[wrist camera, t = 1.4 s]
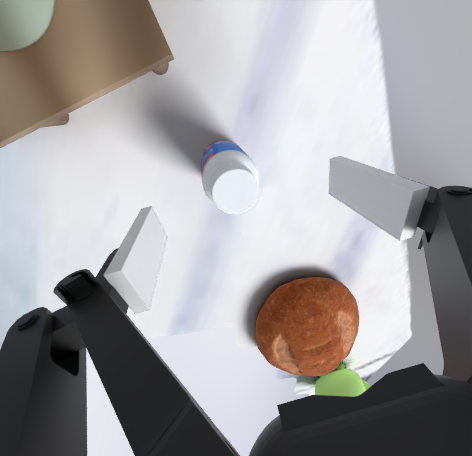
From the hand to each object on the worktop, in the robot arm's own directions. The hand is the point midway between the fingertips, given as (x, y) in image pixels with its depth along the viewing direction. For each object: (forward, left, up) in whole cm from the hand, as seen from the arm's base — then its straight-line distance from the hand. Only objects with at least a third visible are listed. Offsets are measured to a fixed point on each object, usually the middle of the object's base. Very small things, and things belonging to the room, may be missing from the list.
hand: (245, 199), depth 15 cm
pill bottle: (0, 0, -12) cm, 12 cm away
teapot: (+17, -70, -12) cm, 73 cm away
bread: (+9, -38, -12) cm, 41 cm away
